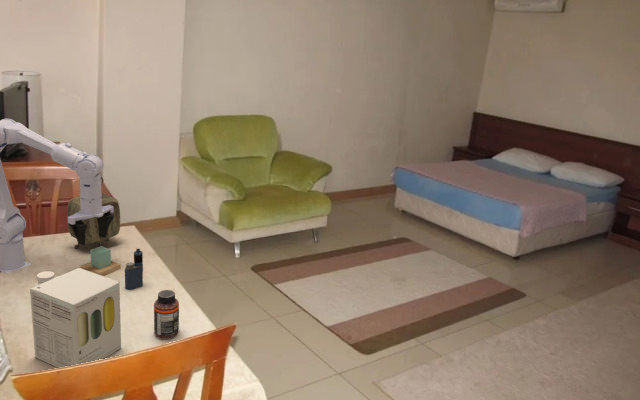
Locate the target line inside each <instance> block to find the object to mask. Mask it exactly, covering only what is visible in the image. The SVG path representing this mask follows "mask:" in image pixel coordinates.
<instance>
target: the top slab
mask: <svg viewBox="0 0 640 400" xmlns="http://www.w3.org/2000/svg"><path fill="white" fill-rule="evenodd" d="M79 268H81V269H84V270H87V271H90V272H93V273H95V274H98V275H101V276H104V277H106V276H107V275H109V274H112V273H114V272H116V271H119V270H121V269H122V266H121V263H118V262H115V261H112V260H111V265H108V266H106V267H103V268H100V269H99V268H97V267H94V266H92V265H91V261H90V262H88V263H86V264H85V263H84V264H83V265H80V267H79Z"/></svg>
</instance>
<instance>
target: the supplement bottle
mask: <svg viewBox="0 0 640 400" xmlns="http://www.w3.org/2000/svg"><path fill="white" fill-rule="evenodd" d="M179 319H180V303H179V300H178V298H176V292H175V291H174V290H173V289H172V290H171V289H163V290H161V291H159V292H158V293H157V299H156V300H155V301H154V303H153V326H154V327H153V334H154V335H155V337H156V338H159V339H162V340H170V339H172V338H174V337H176V336H177V335H178V334H179V332H180V330H179V329H180V320H179Z"/></svg>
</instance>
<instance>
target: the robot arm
mask: <svg viewBox="0 0 640 400" xmlns="http://www.w3.org/2000/svg"><path fill="white" fill-rule="evenodd" d="M15 144H24V145H27V146H29V147H31V148H33V149H36V150H39V151H41V152H43V153H45V154H48V155H50V156H51V157H50V158H51V159H52V161H53V162H56V163H58V164H59V165H62V166H64V167H66V168H69V170H73V171H75V173H76V175H77V176H78V177H79V196H80V206H81V211H79V212H77V213H75V214H74V215H72V216H69V217H68V223H69V225H70V227H71V228H72V230H73V231H74V233H75V236H76V238H77V239H76V238H75V239H76V241H77V245H78V244H80V245H79V246H85V245H86V243H85V233H86V228H87V225H86V224H84V223H83V222H82V221H83V220H87V219H90V218H93V217H97V221H98V226H99V236H100V237H103V238H106V235H107V231H108V228H109V225H110V223H111V221H112V220H113V218H114V215H113V214H110V213H113V212H114V209H113V206H110V205H107V206H102V195H101V192H102V185H101V183H102V179H101V177H102V175H101V172H102V171H103V170H104V161H103V159H101V157H99V156H98V155H97V154H94V153H92V154H91V153H90V154H89V153H88V152H86V151H81V150H79V149H77V148H75V147H73V146H72V144H71V143H69V142H66V143H64V142H61V143H55V142H53V141H52V140H49V139H48V138H46V137H44V136H42V135H40V134H38V133H37V132H35V131H33V130H31V129H29V128H27V127H26V126H25V125H24V124H22V123H21V122H18V121H17V122H16V121H15V120H14V119H12V118H2V119H1V120H0V153H1V152H2V151H3V150H4V148H5V147H6V146H8V145H15ZM1 159H2V158H0V272H1V273H6V274H8V273H11V272H14V271H18V270H20V269H23V268H25V267H28V266H32V263H30V262H28V261H26V260H25V259H26V257H25V248H24V247H25V246H24V234H23V233H24V231H25V229H26V228H27V221H26V219H25V217H24V216H23V215H22V213H21V212H20V209H19V208H18V207H17V206H14V204H13V199H12V195H11V193H10V189H9V185H8V181H7V178H6V175H5V174H6V173H5V171H4V167H3V164H2V160H1ZM68 223H67V224H68Z"/></svg>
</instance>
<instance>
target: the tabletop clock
mask: <svg viewBox="0 0 640 400" xmlns="http://www.w3.org/2000/svg"><path fill="white" fill-rule="evenodd" d="M104 180H105V179H104V178H103V177H102V176H101V186H103V184H104ZM101 195H102V206H107V205H110V206H113V209H114V212H113V213H110V214H113V215H114V218H113V220H112V221H111V223H110V225H109V228H108V231H107V235H106V238H103V237H100V236H99V226H98V221H97V217H93V218H90V219H87V220H83V221H82V222H83V223H84V224H86V225H87V228H86V233H85V244H91V243H98V245H97V247H100V246H103V244H101V241H104V242H105V241H106V242H107V241H109V239H111V238H113V237H116V236H117V235H118V234H120V233H119V232H120V229H121V210H120V204H119V201H118V199H117V198H115V197H112V196H111V195H108V194H105V193H103V192H102V191H101ZM66 210H67V211H66V221H67V229H68V233H69V234H70V236H71V237H72V238H74V239H76V240H77V238H76V236H75V233H74V231H73V230H72V228H71V227H70V225H69V223H68V217H69V216H72V215H74V214H75V213H77V212H79V211H81V206H80V195H78V196H76V197H73V198H71V199H70V200H69V201H68V203H67V209H66ZM80 246H81V245H80V244H78V243H77V244H75V245H74V249H76V250H77V249H80Z"/></svg>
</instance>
